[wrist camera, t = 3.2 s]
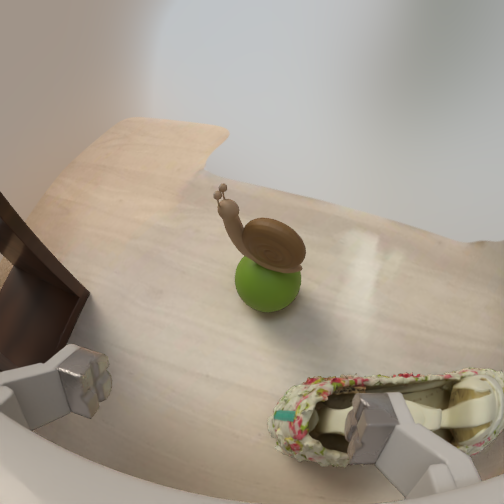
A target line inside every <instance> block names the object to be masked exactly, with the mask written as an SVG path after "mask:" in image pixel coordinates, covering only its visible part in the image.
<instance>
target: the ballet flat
mask: <svg viewBox="0 0 504 504" xmlns="http://www.w3.org/2000/svg"><path fill="white" fill-rule="evenodd" d="M501 371H502V370H501ZM501 371H500V372H496V371H494V370H493V369H489V368H488V369H483V368H482V369H480V368H478V369H477V368H476V369H475V368H472V367H469V368H463V369H462V370H458V371H457V372H455V371H453V372H452V373H447V372H446V373H444V374H445V375H431V374H428V375H426V376H424V375H421V376H420V374H418V375H417V376H413V372H412V373H411V374H408V373H407V372H406V373H404V374H401V373H400V374H398V376H396V375H393V376H391V377H386V376H381V375H372V376H371V377H366V376H364V377H363V378H362V377H358V376H357V374H355V375H354V376H352V375H347V376H345V375H343V374H342V375H341V376H340V378H339V377H338V378H336V376H334V377H329V378H322V377H321V376H318V377H313V378H310V377H308V379H307V381H306V382H305V383H304V382H303V384H300V385H298V386H293V387H292V388H290V389H289V390H288V391H287V392H286V394H284V396H283V397H282V398H281V399H280V401H279V402H278V404H277V406H276V407H275V408H274V414H273V415H272V416H270V417H269V418H268V423H267V425H268V431H269V432H270V433H271V437H273V438H276V439H277V442H276V443H277V446H276V447H275V449H276V450H277V451H281V452H282V453H283V454H284V455H285V454H286V455H288V456H290V457H294V458H296V459H297V460H298V462H301V461H302V460H305V461H313V462H318V463H319V464H320V466H322V467H326V466H328V465H331V464H332V465H333V467H334V465H335V467H336V468H337V466H339V467H345V468H346V466H347V465H348V464H349V458H348V452H347V448H348V446H349V442H348V441H347V440H346V439H345V434H344V427H345V421H346V417H347V414H348V412H350V411H351V410H352V409H353V406H352V400H353V397H354V396H355V394H356V393H387V392H400V393H401V394H402V395H403V397H404V400H405V402H406V404H407V406H408V408H409V410H410V413H411V415H412V417H413V419H414V422H415V424H417V423H420V424H421V425H423V426H424V427H426V428H427V429H429V430H430V431H432V432H433V433H435V434H436V435H438V436H439V437H441V438H442V439H444V440H445V441H447V442H449V443H450V444H452V445H453V446H455V447H456V448H458V449H459V450H461V451H463V452H464V453H466V454H467V455H469V456H471V455H474V454H477V453H478V452H480V451H481V450H482V449H484V447H486V446H487V445H488V444H489V442H491V441H492V440H494V439H495V438H496V436H498V434H500V433H501V432H502V430H503V429H504V372H501ZM351 465H353V464H351ZM361 466H364V464H361Z"/></svg>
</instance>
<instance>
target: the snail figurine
mask: <svg viewBox="0 0 504 504" xmlns="http://www.w3.org/2000/svg"><path fill="white" fill-rule="evenodd" d="M226 190H227V186H226V185H225V184H221V185H220V186H219V191H216V192H215V193H214V198H215V199H216V200H217V201H218V200H219V199H221V197H222V194H223V198H224V200H222V201H221V202H220V203H219V201H218V213H219V215H220V216H221V217H222V219H223V221H224V225H225V228H226V231H227V233H228V235H229V237H230V239H231V240H232V242H233V244H234V245H235V246H236V248H237V249H238V250H239V251H240V252H241V253H242V254H243V255H244V257H243V258H242V259H241V261H240V262H239V264H238V266H237V269H236V273H235V285H236V289H237V292H238V294H239V296H240V297H241V299H242V300H243V301H244V302H245V303H246V304H247V305H248V306H250V307H251V308H253V309H255V310H258V311H262V312H274V311H278V310H281V309H283V308H285V307H286V306H288V305H289V304H290V303H291V302H292V301H293V300H294V299H295V297H296V296H297V294H298V292H299V289H300V285H301V273H300V271H301V270H302V266H301V265H300V264H301V263H302V262H303V260H304V258H305V254H306V249H305V245H304V243H303V241H302V239H301V237H300V236H299V235H298V234H297V233H296V232H295V231H294V230H293V229H292V228H290V227H289V226H287V225H286V224H284V223H282V222H279V221H277V220H274V219H269V218H257V219H254V220H252V221H250V222H249V223H248V224H247V225H246V226H245V228H243V225H242V223H241V220H240V218H239V216H238V214H239V207H238V205H237V204H236V203H235V202H234V201H233V200H230V199H225V197H224V192H225V191H226ZM221 192H222V193H221Z"/></svg>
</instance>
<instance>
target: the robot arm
mask: <svg viewBox="0 0 504 504" xmlns="http://www.w3.org/2000/svg"><path fill="white" fill-rule="evenodd" d="M108 366H109V362H108V357H107V356H106V355H105V354H102V353H99V352H95V351H92V350H89V349H86V348H83V347H80V346H77V345H74V344H67V345H66V346H65V347H64V348H63V349H61V350H60V351H59V352H58V353H57V354H55V355H54V356H53V357H52V358H50V359H49V360H48V361H47V362H46V363H44V364H43V363H38V364H34V365H29V366H25V367H21V368H16V369H12V370H7V371H3V372H0V504H260V503H251V502H243V501H235V500H229V499H222V498H217V497H211V496H206V495H201V494H196V493H192V492H187V491H183V490H179V489H175V488H171V487H167V486H163V485H160V484H156V483H153V482H150V481H146V480H143V479H140V478H137V477H134V476H131V475H128V474H125V473H122V472H119V471H117V470H114V469H111V468H109V467H106V466H104V465H101V464H99V463H96V462H94V461H91V460H89V459H87V458H84V457H82V456H80V455H78V454H75V453H73V452H71V451H69V450H67V449H65V448H63V447H61V446H59V445H57V444H55V443H53V442H51V441H49V440H47V439H45V438H43V437H41V436H40V435H38V434H36V433H34V432H32V430H34V429H36V428H39V427H41V426H43V425H45V424H47V423H50V422H52V421H54V420H56V419H58V418H60V417H63V416H65V415H67V414H69V413H71V412H73V413H76V414H79V415H81V416H84V417H87V418H90V419H91V418H92V417H93V415H94V414H95V413H96V412H97V410H98V409H99V408H100V406H99V402H101V401H104V400H106V399H107V397H108V396H109V394H110V391H111V388H112V378H111V375H110V373H109V372H108V371H107V368H108ZM352 406H353V409H352V410H351V411H350V412H348V414H347V417H346V421H345V427H344V434H345V439H346V440H347V441H348V442H349V446H348V448H347V452H348V458H349V464H375V466H376V467H377V468H378V469H379V470H380V471H381V472H382V473H383V474H384V476H385V477H386V478H387V479H388V480H389V481H390V482H391V483H392V484H393V485H394V486H395V487H396V488H397V489H398V490H399V491H400V492H401V493H402V495H403V496H404V497H405V499H404V500H400V501H393V502H385V503H376V504H504V474H502V475H499V476H496V477H493V478H490V479H487V480H484V481H482V480H481V478H480V475H479V473H478V471H477V469H476V467H475V465H474V463H473V461H472V459H471V457H470V456H469V455H467V454H466V453H464V452H463V451H461V450H459V449H458V448H456V447H455V446H453V445H452V444H450V443H449V442H447V441H445V440H444V439H442V438H441V437H439V436H438V435H436V434H435V433H433V432H432V431H430V430H429V429H427V428H426V427H424V426H423V425H421V424H420V423H417V424H415V422H414V419H413V417H412V415H411V413H410V410H409V408H408V406H407V404H406V402H405V400H404V397H403V395H402V394H401V393H400V392H387V393H356V394H355V396H354V397H353V400H352Z"/></svg>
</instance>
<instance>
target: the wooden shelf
mask: <svg viewBox="0 0 504 504" xmlns="http://www.w3.org/2000/svg"><path fill="white" fill-rule="evenodd" d="M0 253H1V254H2V255H3V256H4V257H6V258H7V259H8V260H9V261H10V262H11V263H12V264H13V265H14V266H13V268H12V270H11V271H10V273H9V275H8V277H7V279H6V281H5V283H4V285H3V287H2V289H1V291H0V372H3V371H7V370H12V369H16V368H21V367H25V366H29V365H34V364H38V363H43V364H44V363H46V362H47V361H48V360H49V359H50V358H52V357H53V356H54V355H55V354H57V353H58V352H59V351H60V350H61V349H63V348H64V347H65V346H66V343H67V341H68V339H69V336H70V334H71V332H72V330H73V327H74V325H75V323H76V321H77V319H78V316H79V314H80V312H81V310H82V308H83V306H84V304H85V302H86V300H87V298H88V296H89V294H90V292H89V291H88V290H87V289H86V288H85V287H84V286H83V285H82V284H81V283H80V282H79V281H78V280H77V279H76V278H75V277H74V276H73V275H72V274H71V273H70V272H69V271H68V270H67V269H66V268H65V267H64V266H63V265H62V264H61V263H60V262H59V261H58V260H57V258H56V257H55V256H54V255H53V254H52V253H51V252H50V251H49V250H48V249H47V248H46V246H45V245H44V244H43V243H42V242H41V241H40V240H39V239H38V237H37V236H36V235H35V234H34V233H33V232H32V230H31V229H30V228H29V227H28V226H27V225H26V223H25V222H24V221H23V220H22V219H21V217H20V216H19V215H18V214H17V212H16V211H15V210H14V209H13V207H12V206H11V205H10V204H9V202H8V201H7V200H6V198H5V197H4V196H3V194H2V193H1V192H0Z"/></svg>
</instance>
